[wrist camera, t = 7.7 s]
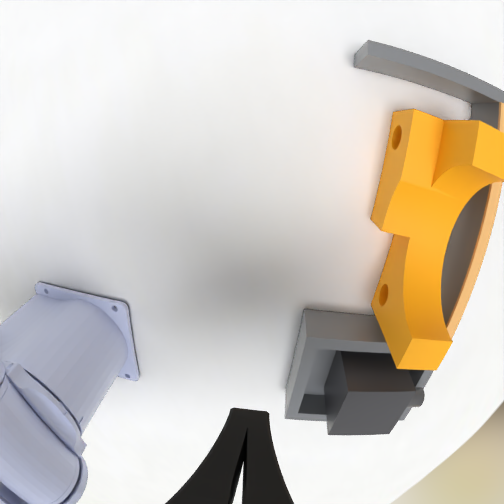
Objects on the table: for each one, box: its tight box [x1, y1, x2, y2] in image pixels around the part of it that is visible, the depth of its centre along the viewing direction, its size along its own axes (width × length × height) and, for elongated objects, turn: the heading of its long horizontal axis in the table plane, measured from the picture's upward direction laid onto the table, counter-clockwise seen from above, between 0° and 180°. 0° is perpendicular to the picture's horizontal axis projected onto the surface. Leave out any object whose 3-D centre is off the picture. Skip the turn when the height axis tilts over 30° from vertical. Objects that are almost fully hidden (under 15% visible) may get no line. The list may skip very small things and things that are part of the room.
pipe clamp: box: [371, 109, 504, 370], centre depth 14 cm, size 12×4×6 cm, turn 171°
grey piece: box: [285, 40, 504, 435], centre depth 15 cm, size 10×24×6 cm, turn 175°
